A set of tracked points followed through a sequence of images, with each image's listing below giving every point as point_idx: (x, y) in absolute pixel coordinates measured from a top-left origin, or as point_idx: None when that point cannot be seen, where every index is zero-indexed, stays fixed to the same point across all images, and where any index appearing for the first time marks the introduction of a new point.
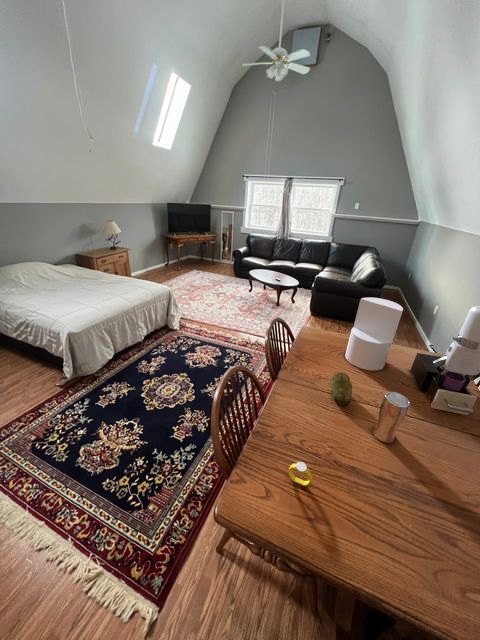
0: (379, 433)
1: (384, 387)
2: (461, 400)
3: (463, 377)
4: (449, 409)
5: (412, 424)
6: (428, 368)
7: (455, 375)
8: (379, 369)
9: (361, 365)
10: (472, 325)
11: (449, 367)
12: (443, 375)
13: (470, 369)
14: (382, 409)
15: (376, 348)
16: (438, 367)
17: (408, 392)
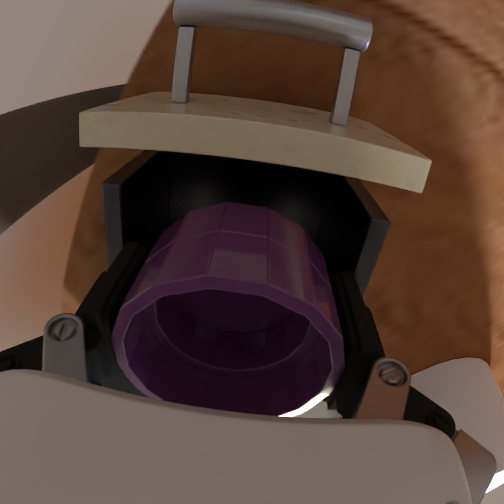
0: None
1: (484, 268)
2: (208, 108)
3: (128, 353)
4: (267, 102)
5: (500, 22)
6: (326, 414)
7: (177, 376)
8: (421, 372)
9: (485, 368)
10: None
11: (442, 479)
12: (376, 353)
13: (67, 496)
14: None
15: (495, 447)
16: (450, 434)
17: (401, 252)
